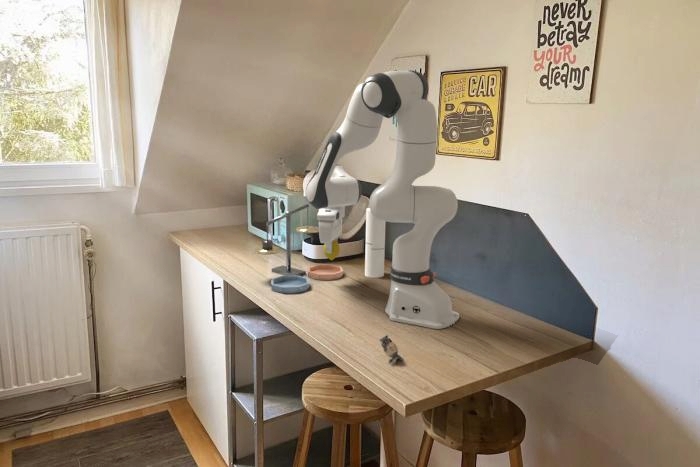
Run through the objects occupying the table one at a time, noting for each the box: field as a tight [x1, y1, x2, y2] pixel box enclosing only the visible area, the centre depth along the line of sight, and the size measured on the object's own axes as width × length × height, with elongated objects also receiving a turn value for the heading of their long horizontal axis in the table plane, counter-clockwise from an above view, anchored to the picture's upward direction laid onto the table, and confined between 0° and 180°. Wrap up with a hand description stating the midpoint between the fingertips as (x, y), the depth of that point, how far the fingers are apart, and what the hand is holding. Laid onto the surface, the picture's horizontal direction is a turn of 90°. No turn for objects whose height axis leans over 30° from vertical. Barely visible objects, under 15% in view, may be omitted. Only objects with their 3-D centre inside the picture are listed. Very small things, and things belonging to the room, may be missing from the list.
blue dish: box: [270, 275, 310, 295], centre depth 188 cm, size 13×13×2 cm
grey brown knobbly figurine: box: [379, 334, 405, 366], centre depth 135 cm, size 5×5×6 cm
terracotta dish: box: [306, 263, 344, 281], centre depth 203 cm, size 13×13×2 cm
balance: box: [254, 203, 319, 277], centre depth 202 cm, size 31×12×25 cm, turn 143°
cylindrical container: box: [364, 207, 387, 279], centre depth 202 cm, size 7×7×25 cm
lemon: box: [323, 239, 340, 261], centre depth 190 cm, size 6×6×8 cm
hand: (331, 250), depth 190 cm, fingers closed on lemon, 5 cm apart
